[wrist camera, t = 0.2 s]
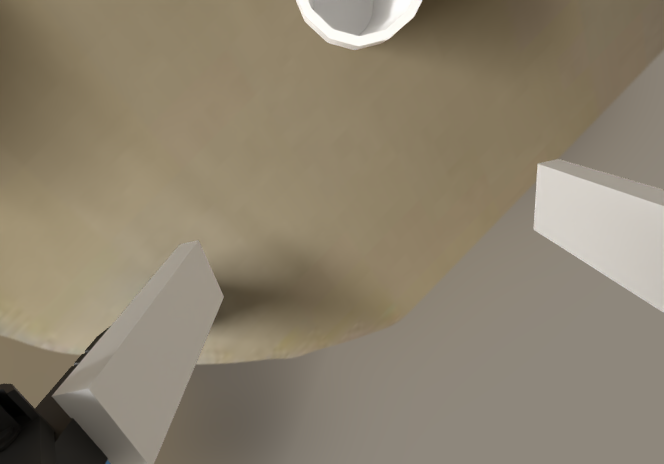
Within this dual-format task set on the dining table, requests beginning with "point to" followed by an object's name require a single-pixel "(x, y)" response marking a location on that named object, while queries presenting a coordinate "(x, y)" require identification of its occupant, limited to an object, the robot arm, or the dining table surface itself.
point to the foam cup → (357, 20)
